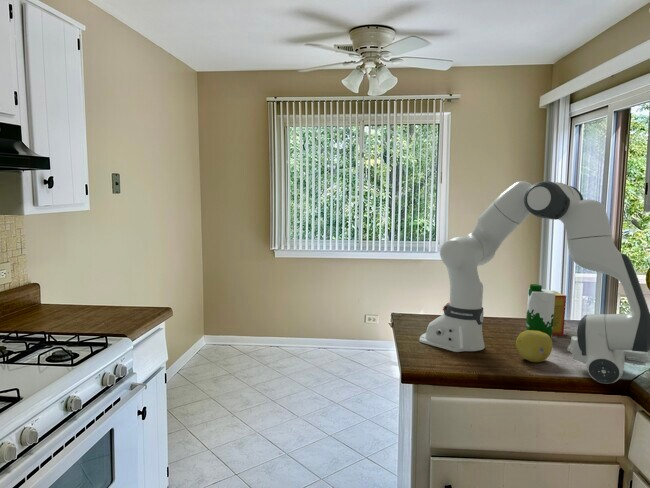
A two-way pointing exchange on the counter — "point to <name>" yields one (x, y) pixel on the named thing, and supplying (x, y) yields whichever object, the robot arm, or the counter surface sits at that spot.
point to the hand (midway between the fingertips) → (609, 343)
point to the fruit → (534, 345)
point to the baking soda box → (559, 314)
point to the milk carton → (540, 309)
